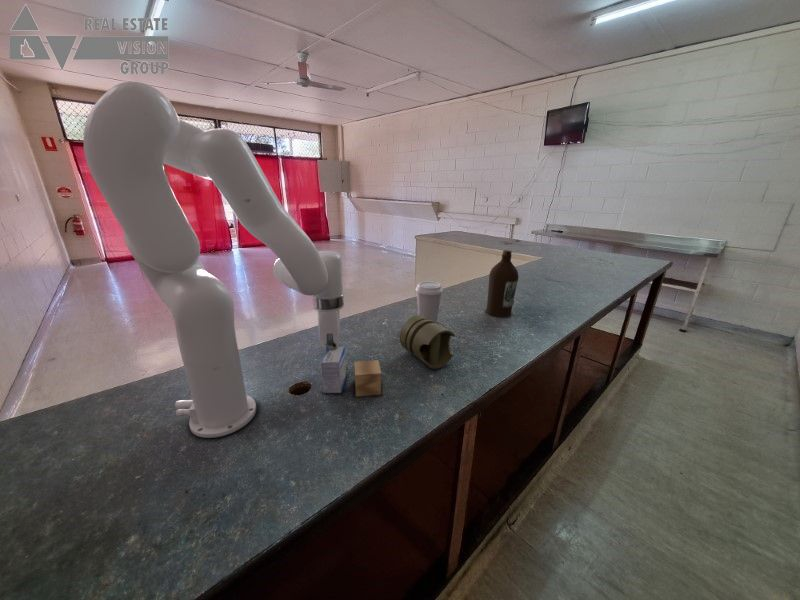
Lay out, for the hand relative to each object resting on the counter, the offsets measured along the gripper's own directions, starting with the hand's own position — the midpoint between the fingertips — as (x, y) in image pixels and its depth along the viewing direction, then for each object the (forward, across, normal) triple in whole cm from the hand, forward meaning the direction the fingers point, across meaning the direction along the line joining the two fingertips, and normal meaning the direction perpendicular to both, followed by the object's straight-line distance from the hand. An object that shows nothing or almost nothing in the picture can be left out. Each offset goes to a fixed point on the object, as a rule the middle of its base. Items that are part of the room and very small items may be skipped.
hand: (332, 363), depth 86 cm
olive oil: (+2, -31, +64) cm, 71 cm away
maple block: (+1, +10, +9) cm, 13 cm away
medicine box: (+2, +8, +1) cm, 8 cm away
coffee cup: (+2, -24, +33) cm, 41 cm away
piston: (+2, -2, +27) cm, 27 cm away
